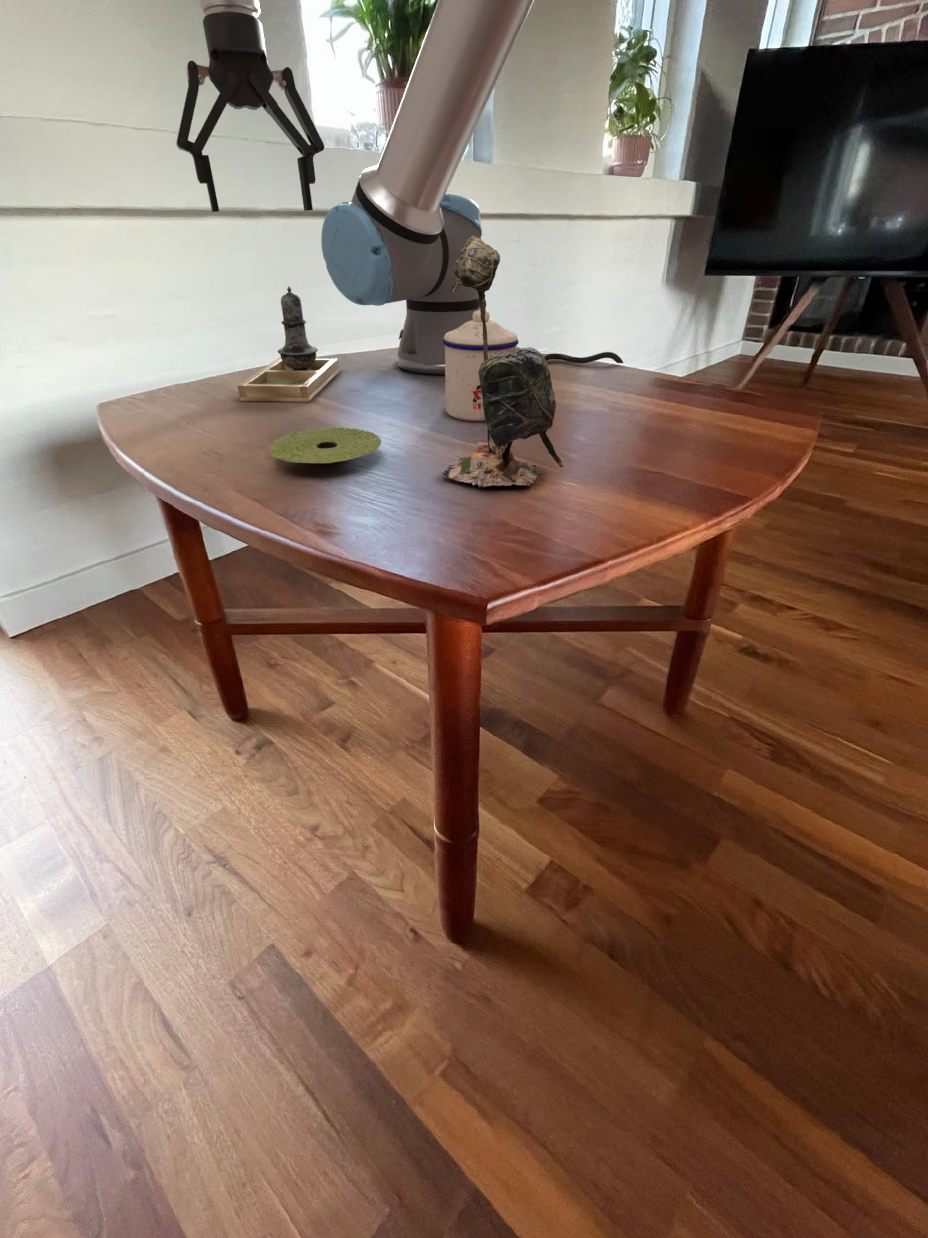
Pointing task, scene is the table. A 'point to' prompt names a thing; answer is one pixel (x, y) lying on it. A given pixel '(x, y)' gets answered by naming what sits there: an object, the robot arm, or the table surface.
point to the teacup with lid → (471, 364)
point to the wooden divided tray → (288, 382)
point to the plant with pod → (503, 390)
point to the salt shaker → (295, 335)
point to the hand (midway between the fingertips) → (263, 211)
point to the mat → (324, 445)
